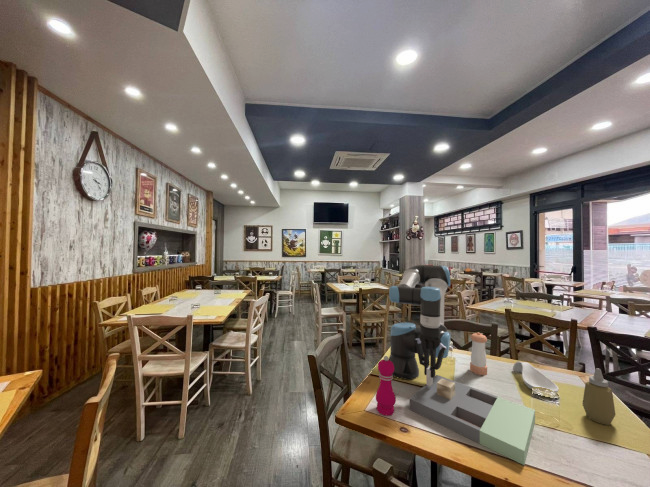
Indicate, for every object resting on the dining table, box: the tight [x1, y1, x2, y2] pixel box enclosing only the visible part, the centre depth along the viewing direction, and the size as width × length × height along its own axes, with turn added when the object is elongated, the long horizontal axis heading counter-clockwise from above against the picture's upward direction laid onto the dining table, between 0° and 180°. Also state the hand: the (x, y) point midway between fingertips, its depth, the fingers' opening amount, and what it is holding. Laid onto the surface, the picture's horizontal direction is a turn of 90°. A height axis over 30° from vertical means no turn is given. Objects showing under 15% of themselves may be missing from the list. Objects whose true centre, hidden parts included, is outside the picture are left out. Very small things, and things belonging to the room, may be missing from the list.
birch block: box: [437, 378, 455, 400], centre depth 98 cm, size 5×5×4 cm
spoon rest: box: [512, 361, 560, 394], centre depth 115 cm, size 24×12×7 cm, turn 169°
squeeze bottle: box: [582, 367, 617, 426], centre depth 91 cm, size 8×8×18 cm
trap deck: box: [409, 374, 536, 466], centre depth 92 cm, size 34×26×4 cm
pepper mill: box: [375, 355, 397, 416], centre depth 94 cm, size 7×7×20 cm
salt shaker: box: [469, 331, 488, 376], centre depth 125 cm, size 7×7×19 cm
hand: (429, 384), depth 102 cm, fingers closed
